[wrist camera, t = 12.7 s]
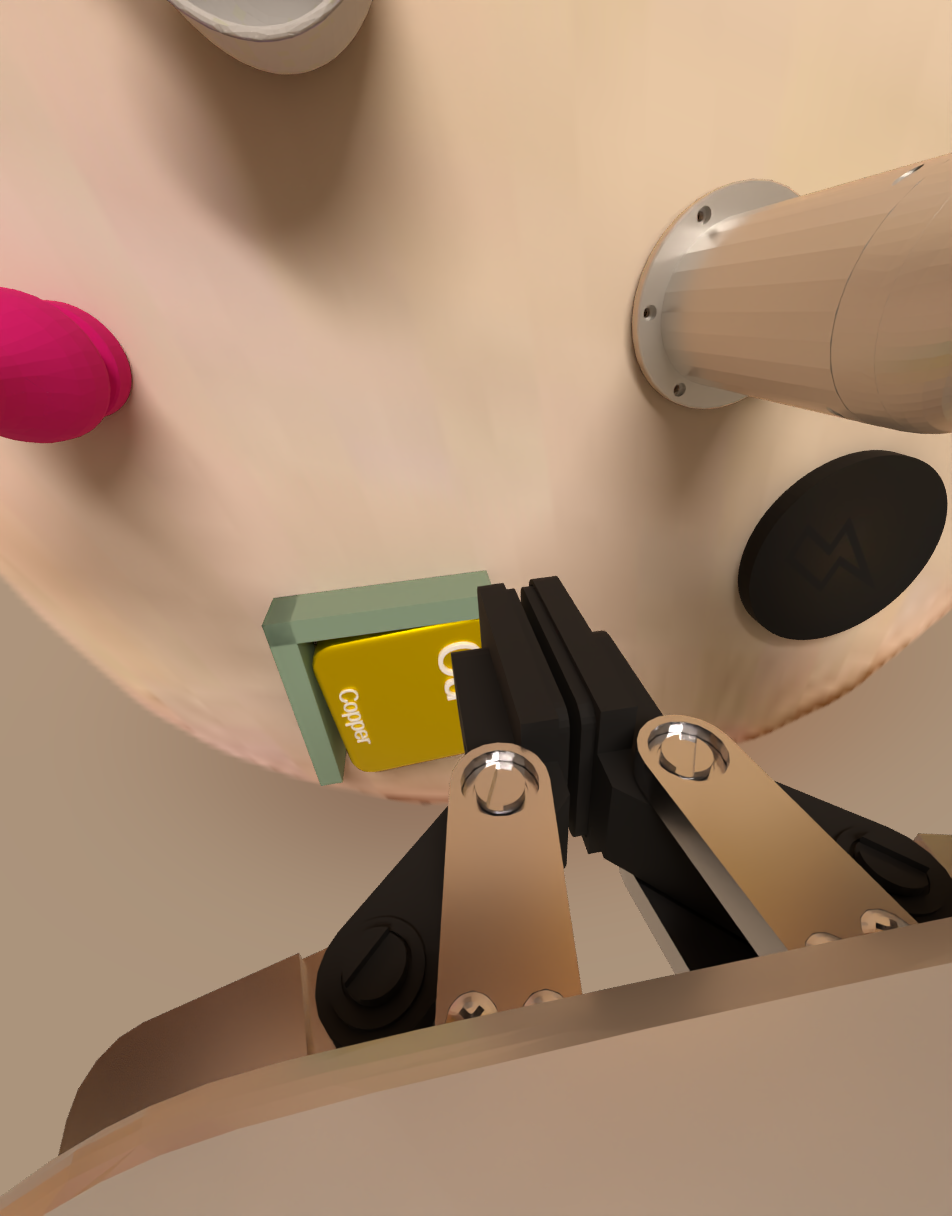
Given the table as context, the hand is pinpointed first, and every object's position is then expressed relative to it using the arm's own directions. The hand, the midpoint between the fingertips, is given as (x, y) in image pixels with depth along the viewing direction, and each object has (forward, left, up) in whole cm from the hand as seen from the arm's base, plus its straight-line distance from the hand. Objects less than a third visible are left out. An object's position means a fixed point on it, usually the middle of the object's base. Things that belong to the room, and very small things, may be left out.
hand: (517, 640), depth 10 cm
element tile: (+4, +22, -28) cm, 36 cm away
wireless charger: (-35, +15, -28) cm, 47 cm away
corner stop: (+6, +21, -27) cm, 35 cm away
